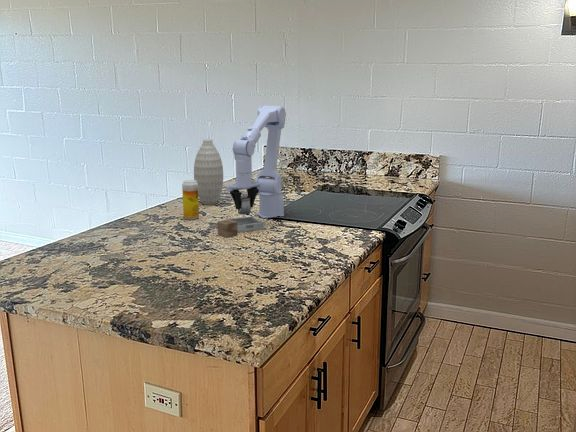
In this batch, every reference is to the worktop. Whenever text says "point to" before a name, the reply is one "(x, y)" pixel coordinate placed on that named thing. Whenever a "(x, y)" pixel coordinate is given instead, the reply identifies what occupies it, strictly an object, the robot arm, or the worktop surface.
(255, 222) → the frame
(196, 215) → the beer can
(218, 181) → the vase
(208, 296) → the worktop surface
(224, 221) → the walnut block
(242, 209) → the grooved metal cylinder
